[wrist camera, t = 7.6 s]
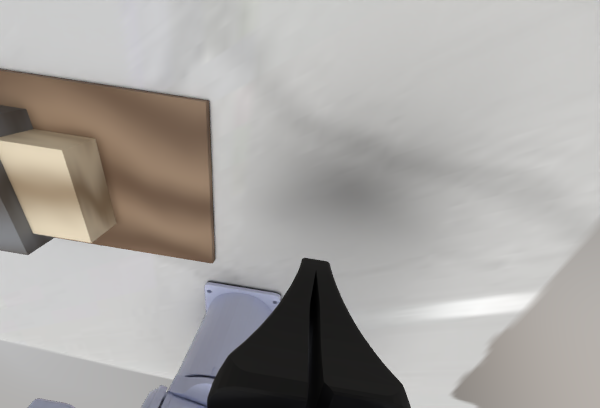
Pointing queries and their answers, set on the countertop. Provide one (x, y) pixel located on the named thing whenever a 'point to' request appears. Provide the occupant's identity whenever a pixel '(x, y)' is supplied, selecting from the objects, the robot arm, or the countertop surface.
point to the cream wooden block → (59, 183)
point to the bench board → (121, 161)
